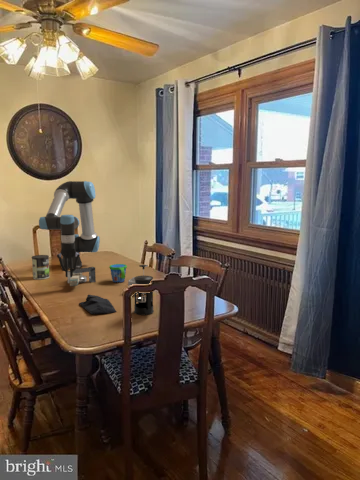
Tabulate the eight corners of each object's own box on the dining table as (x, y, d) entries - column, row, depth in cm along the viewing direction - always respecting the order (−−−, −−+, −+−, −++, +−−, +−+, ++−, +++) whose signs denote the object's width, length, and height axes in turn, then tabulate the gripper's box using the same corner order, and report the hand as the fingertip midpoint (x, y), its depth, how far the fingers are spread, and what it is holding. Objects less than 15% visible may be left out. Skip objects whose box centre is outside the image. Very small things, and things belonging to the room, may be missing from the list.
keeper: (74, 285, 225) (74, 270, 224) (72, 284, 228) (72, 269, 226) (95, 281, 233) (95, 267, 232) (93, 280, 236) (93, 266, 234)
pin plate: (79, 277, 242) (79, 274, 242) (90, 280, 235) (90, 277, 235) (64, 281, 234) (64, 277, 233) (75, 284, 227) (75, 280, 227)
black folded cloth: (86, 317, 172) (85, 308, 172) (78, 303, 192) (78, 295, 192) (118, 313, 179) (118, 303, 178) (108, 300, 198) (107, 291, 198)
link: (73, 275, 237) (72, 265, 236) (82, 275, 238) (82, 265, 237) (68, 286, 212) (67, 275, 211) (79, 286, 213) (78, 274, 212)
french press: (130, 310, 182) (129, 263, 178) (148, 307, 186) (147, 261, 183) (140, 317, 172) (139, 268, 168) (158, 314, 176) (158, 266, 173)
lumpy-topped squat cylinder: (153, 294, 209) (153, 278, 207) (129, 295, 205) (129, 280, 204) (149, 289, 218) (149, 274, 217) (126, 290, 215) (126, 276, 213)
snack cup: (106, 279, 239) (106, 263, 238) (122, 277, 244) (122, 262, 242) (113, 285, 225) (113, 268, 224) (130, 283, 230) (130, 267, 228)
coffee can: (52, 276, 247) (51, 255, 244) (44, 280, 237) (43, 258, 234) (38, 275, 249) (37, 254, 246) (29, 279, 239) (28, 257, 236)
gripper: (55, 243, 208) (56, 284, 211) (79, 243, 210) (80, 283, 214) (57, 241, 215) (58, 281, 219) (80, 240, 217) (81, 280, 221)
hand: (69, 282), depth 216 cm, fingers closed
